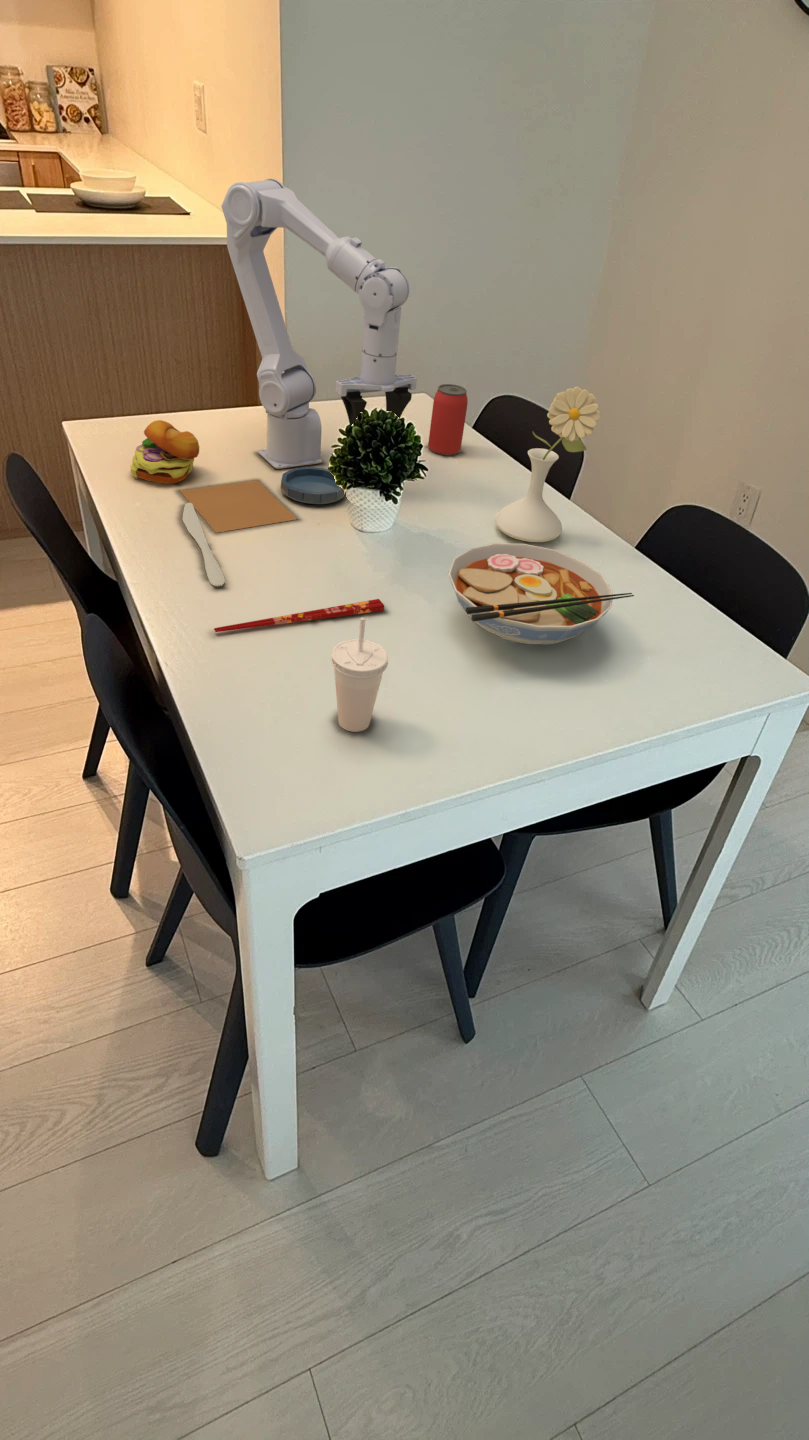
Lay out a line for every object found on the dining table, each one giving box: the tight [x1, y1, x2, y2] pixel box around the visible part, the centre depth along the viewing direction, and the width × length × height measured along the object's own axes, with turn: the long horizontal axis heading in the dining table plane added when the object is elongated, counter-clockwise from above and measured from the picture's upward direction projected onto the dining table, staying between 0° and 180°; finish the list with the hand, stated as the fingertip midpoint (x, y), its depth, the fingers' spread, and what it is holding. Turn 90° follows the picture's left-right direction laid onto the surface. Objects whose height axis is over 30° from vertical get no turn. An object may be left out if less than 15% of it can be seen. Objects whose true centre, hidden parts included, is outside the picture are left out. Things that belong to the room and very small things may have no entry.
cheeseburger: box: [130, 419, 200, 485], centre depth 148 cm, size 10×11×10 cm
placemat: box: [179, 479, 298, 534], centre depth 144 cm, size 14×16×1 cm
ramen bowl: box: [447, 542, 635, 645], centre depth 120 cm, size 25×23×8 cm
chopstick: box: [213, 598, 385, 633], centre depth 118 cm, size 2×24×1 cm, turn 116°
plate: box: [280, 466, 345, 505], centre depth 149 cm, size 11×11×2 cm
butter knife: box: [182, 502, 226, 587], centre depth 132 cm, size 1×27×3 cm
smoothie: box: [330, 616, 389, 733], centre depth 98 cm, size 6×6×14 cm
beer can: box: [427, 383, 469, 456], centre depth 169 cm, size 7×7×12 cm
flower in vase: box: [494, 386, 601, 543], centre depth 139 cm, size 13×11×25 cm
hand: (372, 433), depth 149 cm, fingers open, 6 cm apart
